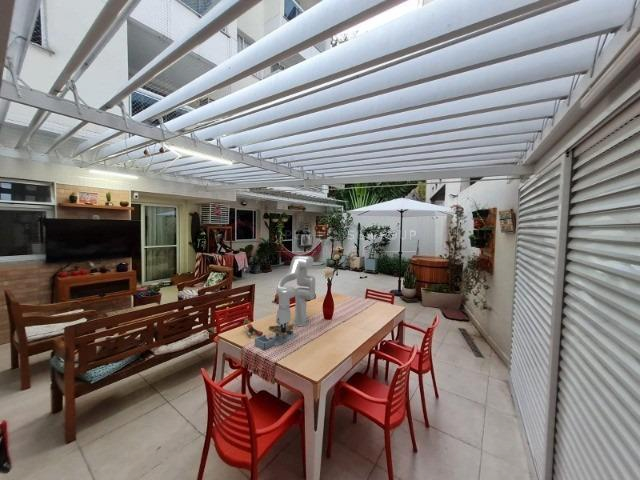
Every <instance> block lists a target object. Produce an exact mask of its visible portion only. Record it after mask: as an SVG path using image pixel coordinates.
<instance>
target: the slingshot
mask: <svg viewBox="0 0 640 480" xmlns="http://www.w3.org/2000/svg"><path fill="white" fill-rule="evenodd" d="M243 320H244V321H243V328H244V329H245V330H246V331H248V332H249V333H252V332H253V333H254V334H256V335H250V334H248V332H246V335H247V336H248V337H253V338H258V337H260V336H262V335H264V334H263V331H261V330H258V329H256V328H254V326H253V325H252V324H251V322H252V321H251V320H249V318H248V317H245V318H244V319H243ZM245 324H246V326H247V327H246V326H245Z"/></svg>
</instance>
